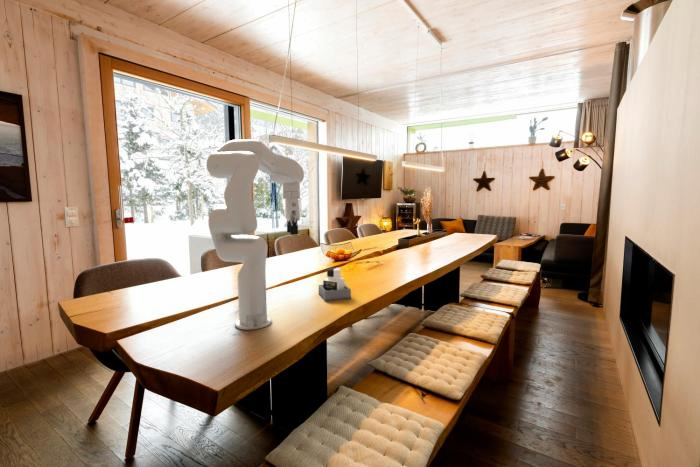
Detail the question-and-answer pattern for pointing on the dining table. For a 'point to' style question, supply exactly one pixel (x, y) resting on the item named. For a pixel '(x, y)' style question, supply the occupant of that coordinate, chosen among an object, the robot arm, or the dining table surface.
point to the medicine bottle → (334, 280)
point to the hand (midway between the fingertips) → (292, 233)
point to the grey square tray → (335, 294)
